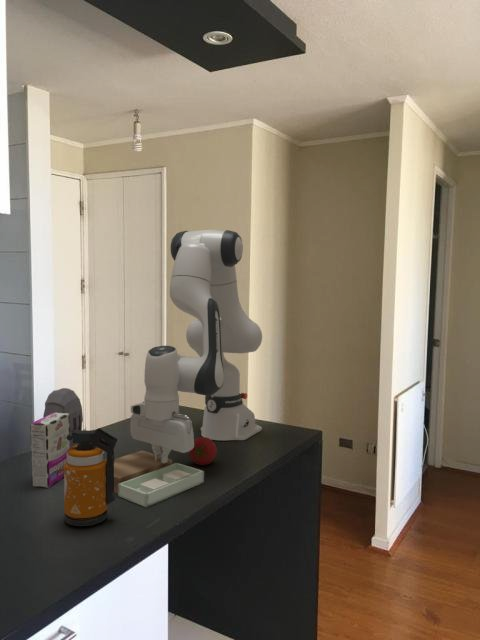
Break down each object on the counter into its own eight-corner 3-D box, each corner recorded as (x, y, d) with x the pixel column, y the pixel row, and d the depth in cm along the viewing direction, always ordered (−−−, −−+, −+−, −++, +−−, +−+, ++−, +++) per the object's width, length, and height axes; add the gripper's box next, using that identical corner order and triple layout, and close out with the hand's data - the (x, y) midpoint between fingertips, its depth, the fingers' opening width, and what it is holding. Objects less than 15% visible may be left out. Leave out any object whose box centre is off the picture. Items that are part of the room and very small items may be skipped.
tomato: (207, 430, 159) (196, 432, 152) (225, 449, 157) (215, 452, 149) (190, 449, 160) (178, 452, 153) (207, 469, 158) (196, 473, 150)
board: (141, 464, 154) (141, 450, 154) (172, 474, 147) (172, 459, 147) (89, 482, 140) (88, 467, 140) (119, 494, 133) (119, 478, 133)
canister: (70, 511, 123) (69, 424, 121) (119, 510, 124) (119, 423, 122) (59, 529, 114) (58, 435, 113) (113, 528, 115) (113, 435, 113)
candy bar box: (54, 471, 148) (53, 411, 146) (71, 473, 147) (70, 413, 145) (30, 486, 137) (29, 422, 135) (48, 488, 136) (47, 423, 134)
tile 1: (169, 483, 133) (169, 493, 133) (155, 478, 136) (155, 488, 136) (154, 489, 129) (154, 499, 129) (139, 484, 132) (139, 494, 132)
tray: (176, 473, 148) (176, 462, 147) (204, 482, 141) (204, 471, 141) (117, 496, 132) (117, 484, 132) (146, 507, 126) (146, 494, 125)
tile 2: (190, 473, 139) (190, 483, 139) (176, 469, 142) (176, 478, 142) (177, 479, 135) (177, 489, 135) (162, 474, 138) (162, 484, 138)
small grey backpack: (65, 446, 169) (64, 382, 168) (90, 448, 168) (90, 384, 166) (39, 462, 155) (38, 392, 153) (66, 464, 153) (65, 394, 152)
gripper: (199, 413, 137) (199, 467, 138) (144, 401, 150) (144, 450, 151) (182, 418, 132) (182, 474, 133) (126, 405, 145) (126, 456, 146)
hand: (161, 461), depth 142 cm, fingers closed
